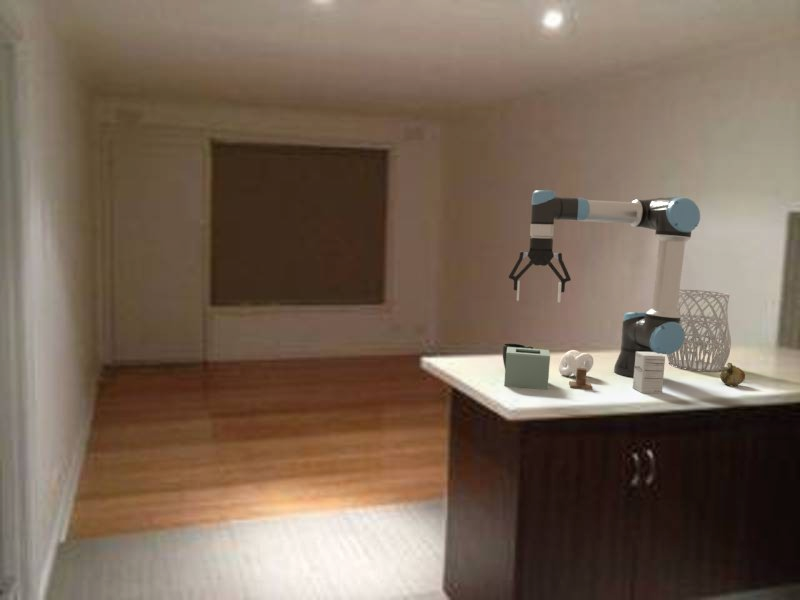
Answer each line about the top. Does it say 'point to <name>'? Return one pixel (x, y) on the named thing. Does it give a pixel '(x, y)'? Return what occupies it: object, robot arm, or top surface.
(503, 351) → the mug
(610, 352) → the top surface
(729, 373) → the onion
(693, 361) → the vase
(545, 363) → the box
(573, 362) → the white knot sculpture
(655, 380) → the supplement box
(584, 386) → the token stand
